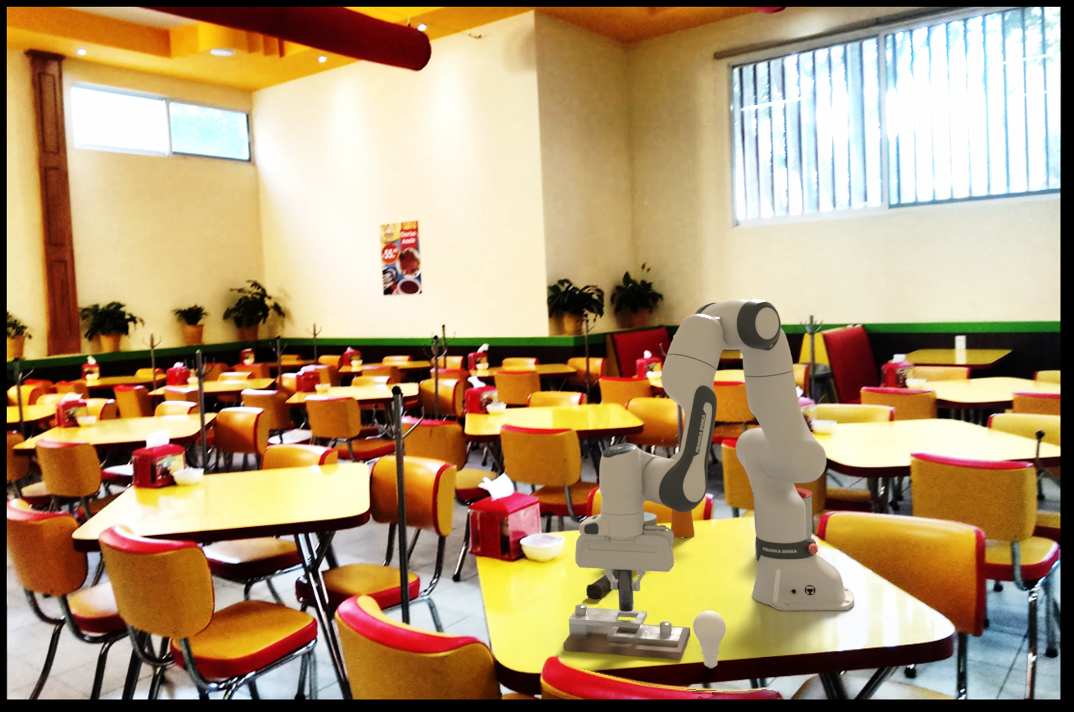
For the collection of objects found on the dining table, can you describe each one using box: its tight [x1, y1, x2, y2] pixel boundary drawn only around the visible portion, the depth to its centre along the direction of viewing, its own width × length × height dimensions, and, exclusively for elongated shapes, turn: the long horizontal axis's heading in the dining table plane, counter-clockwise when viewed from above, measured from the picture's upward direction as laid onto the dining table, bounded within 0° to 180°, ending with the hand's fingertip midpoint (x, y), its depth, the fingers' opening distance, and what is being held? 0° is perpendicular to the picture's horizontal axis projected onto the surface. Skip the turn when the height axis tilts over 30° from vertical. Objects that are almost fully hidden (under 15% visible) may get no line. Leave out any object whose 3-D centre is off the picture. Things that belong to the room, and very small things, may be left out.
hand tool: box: [586, 569, 618, 601], centre depth 213 cm, size 19×4×5 cm, turn 148°
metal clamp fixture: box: [568, 603, 683, 646], centre depth 178 cm, size 22×7×6 cm, turn 72°
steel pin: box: [617, 569, 635, 612], centre depth 178 cm, size 3×3×8 cm
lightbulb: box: [692, 610, 727, 669], centre depth 164 cm, size 6×6×11 cm
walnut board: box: [563, 623, 691, 661], centre depth 179 cm, size 24×13×2 cm, turn 72°
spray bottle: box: [669, 451, 695, 538], centre depth 254 cm, size 7×11×26 cm, turn 42°
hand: (625, 589), depth 178 cm, fingers closed on steel pin, 3 cm apart
